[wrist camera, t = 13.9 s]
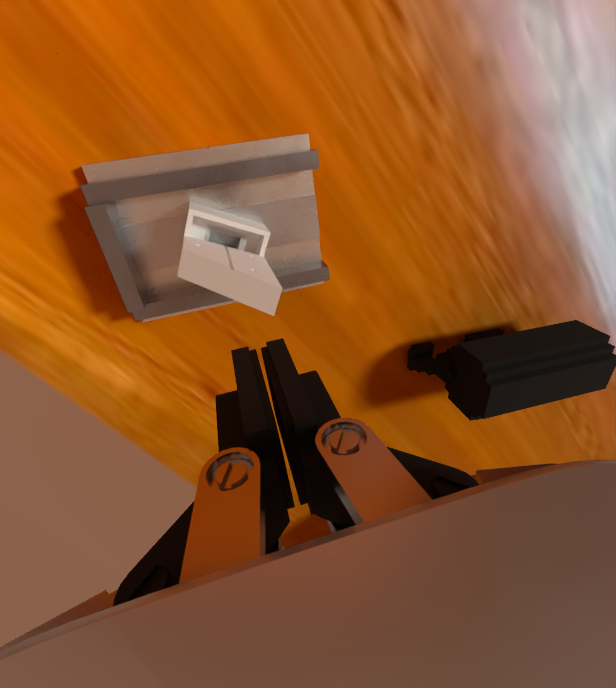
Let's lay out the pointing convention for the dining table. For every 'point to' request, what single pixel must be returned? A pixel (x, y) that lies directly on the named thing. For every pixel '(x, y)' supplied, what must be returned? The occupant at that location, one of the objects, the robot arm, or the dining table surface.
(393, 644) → the robot arm
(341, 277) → the dining table surface
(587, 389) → the security camera
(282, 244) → the rail board
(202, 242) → the white wedge bracket
